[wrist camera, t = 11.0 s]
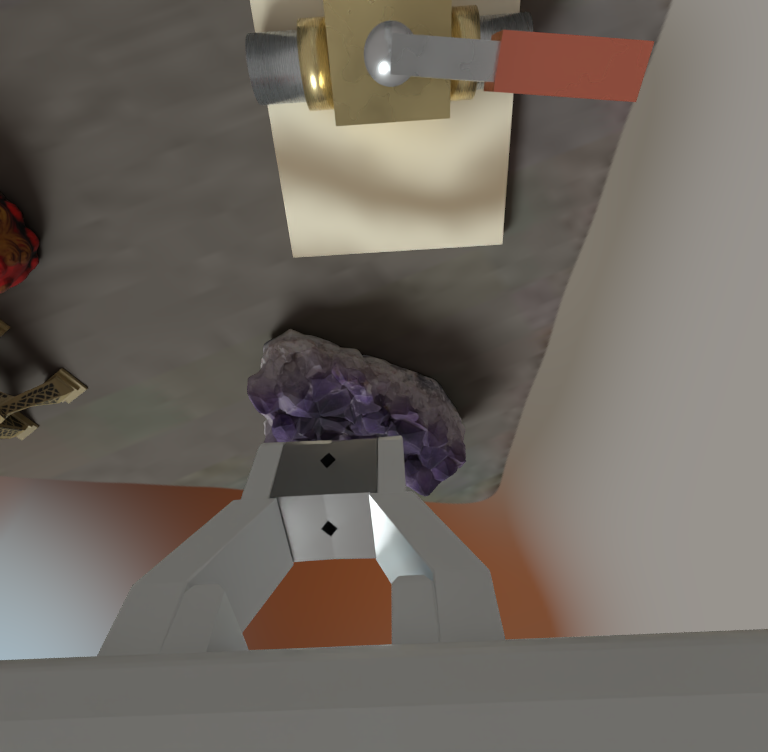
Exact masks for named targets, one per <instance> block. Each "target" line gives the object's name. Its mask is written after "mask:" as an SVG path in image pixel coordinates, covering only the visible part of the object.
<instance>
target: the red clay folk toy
mask: <svg viewBox="0 0 768 752" xmlns="http://www.w3.org/2000/svg"><path fill="white" fill-rule="evenodd" d="M23 218H24V216H23V213H22V212H21V211H20V210H19V208H18V207H17V206H16V205H15V204H12V203H11V202H10V201H9V200H7V199H6V198H5V197H4V196H3V194H2V193H0V294H1V293H3V292H5V291H6V290H8V289H9V288H11V287H13V286H16V285H17V284H19V283H21V282H22V281H23V280H25V279H26V278H27V276H28V275H29V273H30V272H31V271H32V270H33V269H35V267H36V266H37V264H38V262H39V258H38V255H37V248H38V247H39V239H38V238H37V236H36V235H35V234H34V232H33V231H32V230H30V229H29V228H27V227H25V223H24V220H23Z"/></svg>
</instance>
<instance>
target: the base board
mask: <svg viewBox="0 0 768 752" xmlns="http://www.w3.org/2000/svg"><path fill="white" fill-rule="evenodd" d="M250 4H251V9H252V15H253V21H254V27H255V33H258V32H271V31H285V30H297V20H298V18H309V17H322V16H325V15H324V6H323V0H250ZM465 5H477V7H478V11H479V16H481V15H494V14H508V13H519V12H520V0H452V6H465ZM483 90H484V89H480V90H476V92H475V96H474V98H473V99H472V100H459V101H450V118H447V119H433V120H419V121H405V122H391V123H376V124H362V125H348V126H336V122H335V112H334V109H333V110H319V111H310V110H309V108H308V106H307V102H300V103H286V104H272V105H268V110H269V116H270V122H271V128H272V134H273V140H274V146H275V152H276V158H277V164H278V170H279V175H280V181H281V187H282V193H283V199H284V205H285V211H286V217H287V223H288V229H289V235H290V241H291V247H292V253H293V258H294V257H309V256H325V255H341V254H357V253H373V252H389V251H404V250H420V249H436V248H452V247H468V246H484V245H499V244H502V240H503V227H504V214H505V200H506V187H507V173H508V160H509V146H510V133H511V120H512V106H513V93H502V92H488V91H483Z"/></svg>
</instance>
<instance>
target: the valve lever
mask: <svg viewBox="0 0 768 752" xmlns="http://www.w3.org/2000/svg"><path fill="white" fill-rule="evenodd" d="M653 44H654V41H644V40H631V39H618V38H605V37H592V36H579V35H566V34H553V33H540V32H527V31H514V30H501V31H499V32H497V33H495V34H493V35H492V36H491V40H480V39H467V38H454V37H440V36H427V35H414V34H413V33H412V32H411V30H410V29H409V28H408V27H407V26H406V25H404V24H403V23H401V22H398V21H393V20H389V21H384V22H382V23H380V24H378V25H377V26H375V27H374V28H373V29H372V31H371V32H370V33H369V35H368V37H367V39H366V42H365V46H364V62H365V66H366V68H367V71H368V73H369V74H370V76H371V77H372V78H373V79H374V80H375V81H376V82H377V83H379V84H381V85H383V86H388V87H394V86H398V85H401V84H403V83H404V82H406V81H407V80H408V79H409V78H410V77H421V78H435V79H449V80H463V81H477V82H485V83H484V90H483V91H488V92H502V93H516V94H530V95H544V96H558V97H572V98H586V99H599V100H613V101H628V102H636V100H637V97H638V94H639V90H640V87H641V84H642V80H643V77H644V74H645V71H646V67H647V64H648V61H649V57H650V54H651V51H652V47H653Z"/></svg>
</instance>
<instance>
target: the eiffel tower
mask: <svg viewBox="0 0 768 752" xmlns="http://www.w3.org/2000/svg"><path fill="white" fill-rule="evenodd" d="M10 328H11V327H10V326H8V325H7V324H6V323H4V322H3V321H2V320H1V319H0V337H1V336H2V335H3V334H4V333H5V332H6V331H7V330H9V329H10ZM87 389H88V388H87V387H86V386H85V385H83V384H82V383H81V382H80V381H78V380H77V379H76V378H74V377H73V376H72V375H71V374H69V373H68V372H67V371H66V370H64V369H63V368H62V369H60V370H59V371H58V372H57V373H56V374H54V375H53V376H52V377H51V378H50V379H48V380H47V381H46V382H45V383H44V384H42V385H40V386H37V387H35V388H33V389H31V390H28V391H26V392H24V393H22V394H19V395H17V396H15V397H14V396H11V395H7V394H5V393H2V392H0V439H9V438H13V437H15V436H16V437H17V438H19V439H20V440H23V439H24V438H26V437H27V436H28V435H29V434H31V433H32V432H33V431H34V430H36V429H37V428H38V427H39V426H38V425H37V424H35V423H34V422H32V421H31V420H30V419H28V418H27V417H25V416H24V415H23V414H21V413H20V412H18V411H20V410H23V409H25V408H28V407H30V406H38V405H47V404H56V403H60V402H64V401H66V402H67V403H70V402H71V401H73V400H74V399H75V398H76V397H78V396H79V395H80V394H82V393H83V392H84V391H85V390H87Z"/></svg>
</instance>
